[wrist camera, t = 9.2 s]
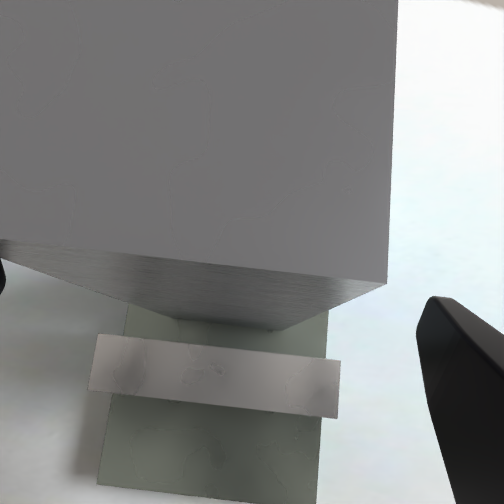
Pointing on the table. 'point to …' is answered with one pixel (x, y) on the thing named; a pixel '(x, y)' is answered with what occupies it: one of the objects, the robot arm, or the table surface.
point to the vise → (215, 407)
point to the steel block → (200, 151)
